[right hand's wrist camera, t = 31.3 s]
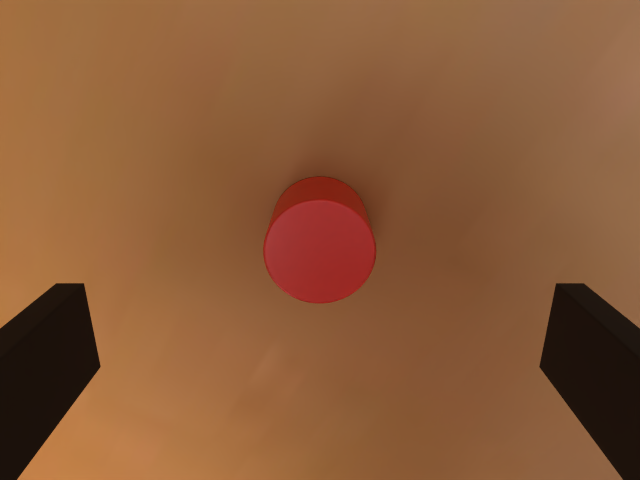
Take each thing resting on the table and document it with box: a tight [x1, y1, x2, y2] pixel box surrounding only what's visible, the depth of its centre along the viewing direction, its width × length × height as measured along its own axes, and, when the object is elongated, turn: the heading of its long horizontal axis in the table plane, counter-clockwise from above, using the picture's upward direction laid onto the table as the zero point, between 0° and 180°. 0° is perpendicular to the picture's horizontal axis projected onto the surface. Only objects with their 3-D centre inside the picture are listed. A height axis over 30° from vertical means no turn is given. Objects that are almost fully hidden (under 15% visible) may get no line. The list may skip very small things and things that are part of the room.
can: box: [263, 177, 376, 303], centre depth 20 cm, size 5×5×4 cm
